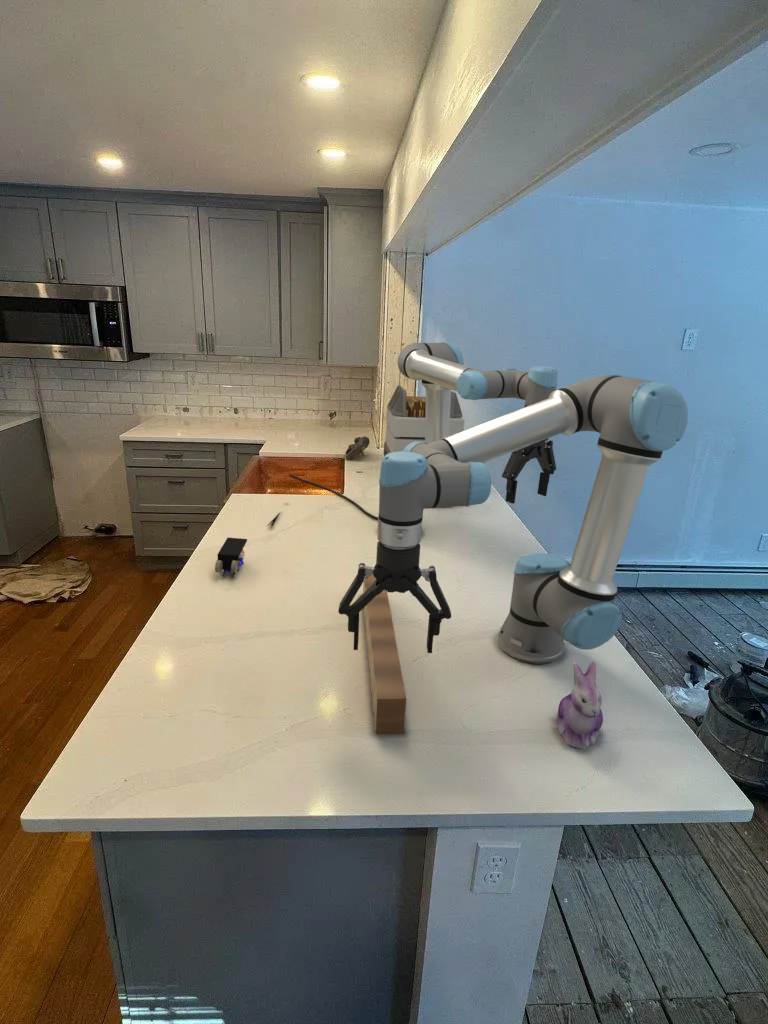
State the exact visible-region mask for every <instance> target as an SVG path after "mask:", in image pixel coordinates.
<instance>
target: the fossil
mask: <svg viewBox="0 0 768 1024" xmlns="http://www.w3.org/2000/svg"><path fill="white" fill-rule="evenodd" d="M353 442H354V443H350V444H348V447H347V449H346V451H345V456H344V458H345V460H348V461H351V460H354V459H355V458H357V457H359V456H360V455H361V454H362V456H363V457H365V454H364V453H363V452H364V451H365V450H366V449H367V448H368V447H369V445H370V438H369V436H362V437H361V436H358V437H355V438H354V440H353Z"/></svg>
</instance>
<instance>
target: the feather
mask: <svg viewBox="0 0 768 1024" xmlns="http://www.w3.org/2000/svg"><path fill="white" fill-rule="evenodd" d="M280 514H281V512H279V513H278V514H276V516H275V517H274V518H273V519H272V520H271V521H270V522H269V523H267V526H269V525H270V529H272V528H273V526H274V525H275V522H276V521H277V519H278V517H279V515H280ZM267 526H266V527H267Z"/></svg>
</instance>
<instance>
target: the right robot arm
mask: <svg viewBox="0 0 768 1024" xmlns="http://www.w3.org/2000/svg"><path fill="white" fill-rule="evenodd" d="M524 407H525V406H524ZM524 407H522V408H520V409H516V410H515V411H512V412H509V413H506V414H503V415H501V416H499V417H495V418H494V419H493V418H492V419H491V420H488V421H485V422H483V423H479V424H477V425H475V426H472V427H470V428H467V429H465V430H464V431H462V432H459V433H457V434H454V435H451V436H449V437H446V438H444V439H441V440H438V441H435V442H432V443H430V444H428V443H424V442H413V443H410V444H409V445H407V446H406V447H405V448H404V450H403V451H400V452H392V453H389V454H387V455H385V456H384V455H383V457H382V460H381V466H380V473H379V478H378V484H379V491H378V493H379V495H378V496H379V498H378V516H377V517H378V520H377V542H376V558H375V559H376V560H375V564H374V566H368V565H366V564H365V563H364V562H360V563H359V564H358V569H357V574H356V575H355V577H354V579H353V581H352V582H351V584H350V585H349V587H348V589H347V590H346V592H345V594H344V596H343V597H342V599H341V601H340V602H339V605H338V614H339V615H345V616H347V631H348V633H353V651H358V650H359V636H360V635H359V633H360V612H361V611H362V610H364V607H365V606H366V605H367V604H368V603H369V602H370V601H371V600H372V599H373V598H374V597H376V596H377V595H379V594H380V593H381V592H382V591H383V590H386V591H387V593H395V592H397V593H399V594H405V593H406V592H409V593H410V594H411V596H413V597H415V599H416V600H417V601H418V602H419V604H421V606H422V607H423V608H424V610H425V611H426V612H427V613H428V614H429V615H428V625H427V637H426V650H427V654H432V653H433V644H434V636H436V637H437V636H438V637H439V635H440V633H441V623H442V620H444V619H447V620H449V619H452V612H451V611H452V610H451V608H450V605H449V603H448V601H447V599H446V597H445V594H444V592H443V590H442V588H441V585H440V584H439V581H438V579H437V577H438V576H437V570H436V567H435V566H434V565H430V566H428V568H420V559H421V558H420V556H421V544H420V543H421V541H422V535H421V529H422V530H423V518H424V510H427V509H428V510H429V509H430V510H431V509H442V508H455V507H466V508H467V507H470V506H475V505H481V504H484V503H485V502H486V501H487V500H488V499H489V497H490V495H491V492H492V486H493V485H492V475H491V473H490V469H489V468H488V467H487V465H485V464H486V463H489V462H491V461H493V460H496V459H498V458H502V457H504V456H507V455H508V454H512V452H514V451H517V450H519V449H522V448H524V447H527V446H529V445H532V444H535V443H537V442H540V441H542V440H545V439H547V438H552V437H555V436H557V435H560V434H561V435H563V436H571V435H574V434H576V433H580V432H595V433H599V437H598V440H597V444H596V446H597V448H598V450H599V452H600V453H601V459H600V462H599V465H598V469H597V472H596V476H595V478H594V483H593V486H592V489H591V493H590V496H589V499H588V502H587V506H586V508H585V509H586V510H585V513H584V516H583V519H582V522H581V526H580V530H579V533H578V535H577V536H578V537H577V540H576V544H575V548H574V550H573V554H572V556H571V560H570V561H569V560H568V559H567V558H565V557H562V556H559V555H556V554H552V553H543V552H542V553H540V552H539V553H537V552H536V553H528V554H523V555H522V556H520V557H519V558H518V559H517V560H516V564H515V568H514V570H513V582H512V590H511V598H510V607H509V612H508V614H507V616H506V618H505V620H504V622H503V623H502V626H501V627H500V629H499V632H498V635H497V638H498V639H497V643H498V646H499V648H500V649H501V650H502V651H503V653H505V654H506V655H509V656H510V657H511V658H513V659H516V660H518V661H520V662H524V663H529V664H534V665H535V664H536V665H537V664H538V665H543V664H544V665H545V664H551V663H554V662H556V661H558V660H560V659H561V658H562V657H563V654H564V650H565V642H567V643H569V644H570V645H572V646H573V647H575V648H576V649H579V650H583V651H585V650H586V651H588V650H593V649H596V648H599V647H601V646H603V645H604V644H605V643H607V642H609V641H610V640H611V639H612V638H613V637H614V636H615V634H616V633H617V632H618V630H619V628H620V626H621V622H622V618H623V617H622V613H621V610H620V608H619V607H618V606H617V605H616V604H615V603H614V602H615V600H616V596H617V593H618V587H617V585H616V582H614V579H613V578H614V577H615V572H616V570H617V566H618V563H619V560H620V557H621V554H622V551H623V548H624V545H625V542H626V538H627V536H628V532H629V529H630V525H631V523H632V519H633V517H634V514H635V511H636V507H637V505H638V501H639V498H640V495H641V492H642V488H643V486H644V482H645V479H646V476H647V474H648V471H649V467H650V466H652V464H655V463H656V462H658V461H660V460H661V458H662V456H663V452H665V451H668V450H670V449H672V448H674V447H675V446H676V444H677V442H680V440H681V439H682V438H683V437H684V434H685V432H686V429H687V426H688V422H689V421H688V420H689V408H688V403H687V401H685V397H684V396H683V393H682V392H681V391H680V390H678V389H677V388H676V387H674V386H672V385H671V384H666V383H663V382H659V381H657V380H648V379H641V378H635V377H628V376H623V375H620V374H619V375H617V374H603V375H599V376H594V377H593V376H592V377H589V378H587V379H584V380H580V381H577V382H575V383H572V384H569V385H566V386H564V387H560V388H559V389H556V390H555V391H553V392H552V393H551V394H550V395H549V397H548V399H546V400H543V401H540V402H538V403H535V404H533V405H530V406H527V407H525V408H524ZM371 574H373V575H374V577H375V578H376V580H375V581H374V583H373V584H372V585H371V586H370V587H369V588H368V589H367V590H366V591H365V592H364V593H363V592H362V594H361V595H360V596H359V597H358V598H357V599H356V600H355V601H353V600H354V599H355V597H356V595H357V593H358V592H359V591H360V588H361V587H362V586H363V581H364V579H367V578H368V577H369V575H371ZM421 577H422V578H424V580H425V581H426V582H428V583H429V586H430V588H431V590H432V592H433V595H434V597H435V599H436V601H437V603H438V605H439V607H440V609H439V608H438V607H437V606H436V605H435V603H434V602H433V601H432V600H431V598H430V597H429V595H428V594H427V593H426V592H425V591H424V590H423V589H422V588H421V586H420V585H419V583H418V581H419V580H420V579H421ZM352 601H353V603H352Z"/></svg>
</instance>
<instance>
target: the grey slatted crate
mask: <svg viewBox="0 0 768 1024" xmlns="http://www.w3.org/2000/svg"><path fill="white" fill-rule="evenodd" d="M407 394H408V393H407V390H406V389H404V388H403V387H402V385H399V384H398V385H397V386H396V388H395V390H394V392H393V394H392V395H391V398H390V400H389V402H388V404H387V405H386V413H385V414H386V415H385V423H386V428H385V438H384V442H383V457H384V456H385V455H387V454H389V453H392V452H400V451H403V450H404V448H405V447H406V446H407V445H409V444H410V443H413V442H424V443H425V411H426V396H415V395H414V396H413V395H412V396H411V395H407ZM464 429H465V419H464V418H463V411H462V408H461V405H460V402H459V398H458V395H457V392H456V391H454V390H451V407H450V436H451V435H454V434H457V433H459V432H462V431H464Z"/></svg>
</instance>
